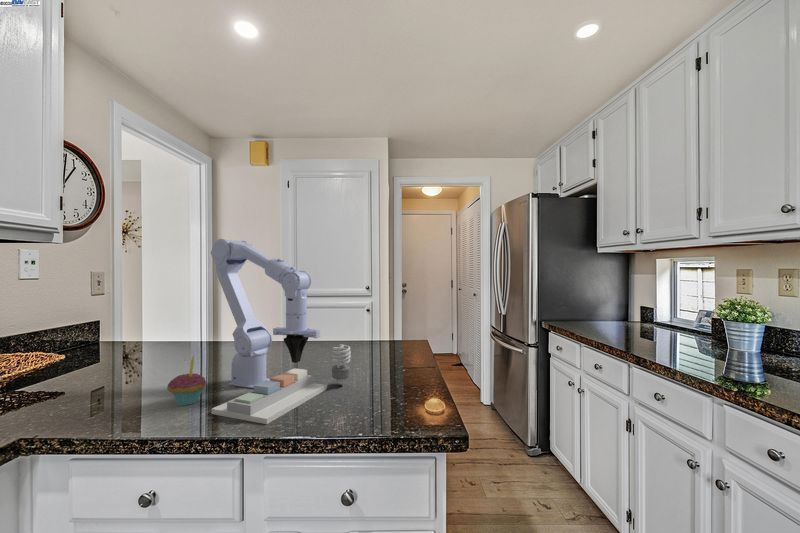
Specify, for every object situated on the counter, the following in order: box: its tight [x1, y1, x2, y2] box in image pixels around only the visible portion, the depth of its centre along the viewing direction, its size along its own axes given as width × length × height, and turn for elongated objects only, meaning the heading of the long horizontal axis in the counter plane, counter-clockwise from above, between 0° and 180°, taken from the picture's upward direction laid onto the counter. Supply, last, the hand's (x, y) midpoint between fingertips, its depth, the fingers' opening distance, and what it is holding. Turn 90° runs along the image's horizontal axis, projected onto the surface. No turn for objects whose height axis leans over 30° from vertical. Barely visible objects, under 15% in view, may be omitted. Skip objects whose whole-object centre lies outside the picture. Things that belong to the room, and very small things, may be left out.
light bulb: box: [331, 343, 352, 386], centre depth 108 cm, size 6×6×12 cm
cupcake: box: [166, 355, 207, 406], centre depth 93 cm, size 9×8×12 cm
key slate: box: [253, 380, 280, 395], centre depth 92 cm, size 4×4×2 cm
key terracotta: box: [269, 373, 294, 388], centre depth 98 cm, size 4×4×2 cm
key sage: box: [234, 392, 264, 404], centre depth 87 cm, size 4×4×2 cm
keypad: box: [211, 374, 328, 425], centre depth 95 cm, size 16×25×3 cm, turn 160°
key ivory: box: [284, 368, 308, 381], centre depth 103 cm, size 4×4×2 cm
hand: (296, 361), depth 103 cm, fingers closed
